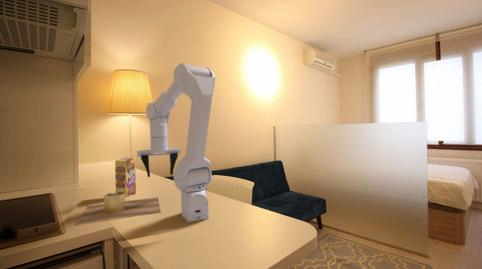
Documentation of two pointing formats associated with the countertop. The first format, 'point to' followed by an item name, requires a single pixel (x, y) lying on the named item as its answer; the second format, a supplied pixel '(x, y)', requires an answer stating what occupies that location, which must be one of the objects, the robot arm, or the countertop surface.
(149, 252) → the countertop surface
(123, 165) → the candy box
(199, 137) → the robot arm
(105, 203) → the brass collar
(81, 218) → the keyed post board
